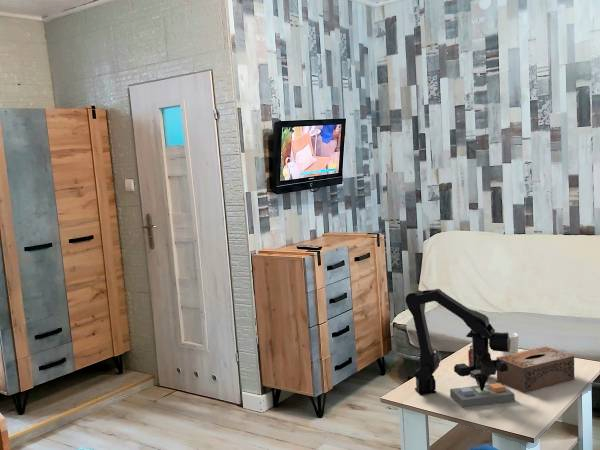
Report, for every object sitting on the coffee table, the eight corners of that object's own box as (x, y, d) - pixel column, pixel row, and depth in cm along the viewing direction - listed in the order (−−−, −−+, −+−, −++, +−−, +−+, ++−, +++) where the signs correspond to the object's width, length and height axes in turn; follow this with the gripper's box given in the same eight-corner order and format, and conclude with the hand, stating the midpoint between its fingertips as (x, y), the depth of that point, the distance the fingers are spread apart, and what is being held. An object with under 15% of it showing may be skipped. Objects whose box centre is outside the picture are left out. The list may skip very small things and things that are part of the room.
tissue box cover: (523, 393, 227) (523, 368, 226) (497, 382, 240) (496, 357, 239) (574, 380, 237) (574, 355, 236) (546, 369, 250) (545, 346, 249)
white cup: (501, 359, 264) (501, 337, 263) (498, 353, 272) (498, 332, 271) (520, 359, 263) (520, 337, 262) (517, 353, 271) (516, 332, 270)
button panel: (462, 408, 217) (462, 400, 216) (450, 396, 228) (450, 388, 227) (514, 401, 220) (514, 393, 219) (500, 390, 231) (499, 383, 230)
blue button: (463, 399, 220) (463, 391, 220) (459, 395, 224) (458, 387, 224) (473, 398, 221) (473, 390, 221) (469, 394, 225) (469, 386, 225)
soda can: (486, 378, 244) (486, 349, 242) (469, 378, 245) (468, 349, 244) (485, 372, 250) (484, 344, 249) (468, 372, 252) (467, 344, 250)
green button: (479, 400, 221) (478, 392, 221) (474, 396, 225) (474, 388, 225) (489, 399, 222) (489, 391, 222) (484, 395, 226) (484, 387, 226)
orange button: (494, 395, 222) (494, 388, 222) (489, 391, 226) (489, 384, 226) (504, 394, 223) (504, 386, 222) (499, 390, 227) (499, 383, 226)
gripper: (465, 358, 212) (466, 401, 214) (515, 353, 215) (516, 395, 217) (452, 349, 223) (454, 389, 225) (500, 344, 226) (501, 384, 228)
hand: (481, 390), depth 223 cm, fingers closed, pressing on green button
